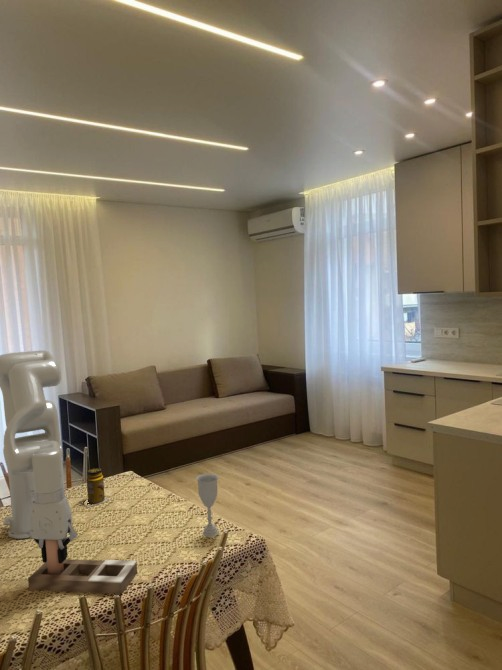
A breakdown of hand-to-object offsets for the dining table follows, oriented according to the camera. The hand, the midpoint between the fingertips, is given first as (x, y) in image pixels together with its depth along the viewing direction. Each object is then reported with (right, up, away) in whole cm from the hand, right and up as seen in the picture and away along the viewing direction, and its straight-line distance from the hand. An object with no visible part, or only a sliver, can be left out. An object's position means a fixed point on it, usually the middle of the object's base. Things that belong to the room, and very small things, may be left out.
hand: (55, 559), depth 134 cm
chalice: (+40, -2, +22) cm, 46 cm away
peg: (0, -4, 0) cm, 4 cm away
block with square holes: (+8, -5, -1) cm, 10 cm away
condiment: (-6, -2, +53) cm, 53 cm away
